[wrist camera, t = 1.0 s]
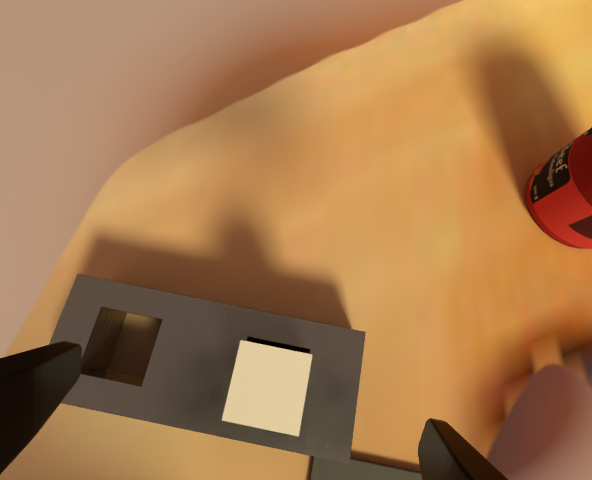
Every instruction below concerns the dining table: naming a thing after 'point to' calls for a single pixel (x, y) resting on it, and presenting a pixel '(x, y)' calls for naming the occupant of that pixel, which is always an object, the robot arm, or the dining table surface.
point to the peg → (268, 388)
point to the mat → (358, 471)
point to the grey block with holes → (207, 364)
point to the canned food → (564, 194)
